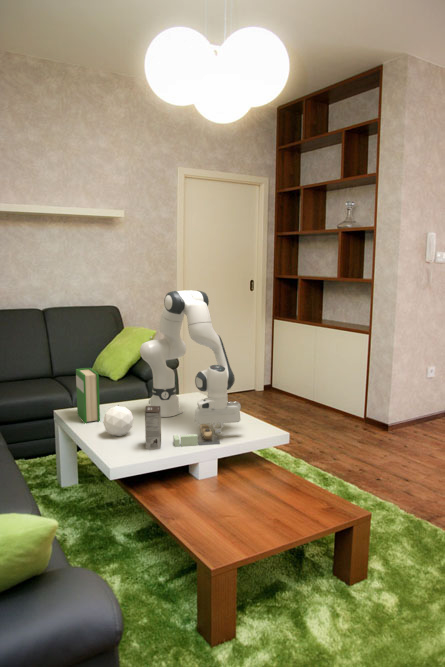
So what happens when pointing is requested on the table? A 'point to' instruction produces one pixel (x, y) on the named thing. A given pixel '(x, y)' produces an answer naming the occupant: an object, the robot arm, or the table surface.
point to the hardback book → (88, 394)
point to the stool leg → (206, 431)
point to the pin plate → (207, 442)
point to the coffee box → (153, 427)
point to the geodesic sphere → (118, 420)
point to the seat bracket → (185, 440)
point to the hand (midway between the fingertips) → (217, 432)
